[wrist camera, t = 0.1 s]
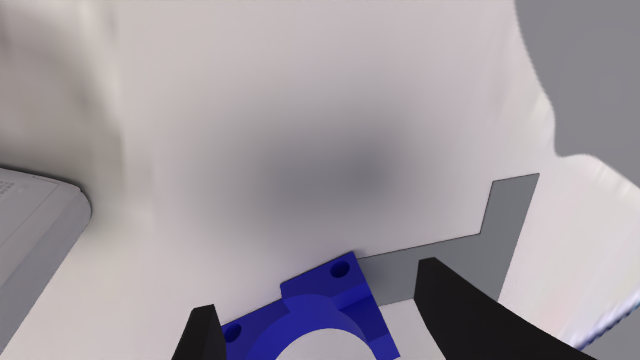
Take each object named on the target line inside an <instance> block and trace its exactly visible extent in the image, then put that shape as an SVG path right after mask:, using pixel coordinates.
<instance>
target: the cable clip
mask: <svg viewBox="0 0 640 360" xmlns="http://www.w3.org/2000/svg"><path fill="white" fill-rule="evenodd" d="M280 288H281V295H282V299H281V300H279V301H276V302H274V303H272V304H270V305H268V306H265V307H263V308H261V309H259V310H257V311H254V312H252V313H250V314H248V315H246V316H243V317H241V318H239V319H237V320H235V321H232V322H230V323H228V324H226V325H224V326H221V328H222V332H223V335H224V338H225V341H226V354H227V360H275V359H276V358H277V357H278V356H279V354H280V353H281V352H282V351H283V350H284V349H285V348H286V347H287V346H288V345H289V344H290V343H292V342H293V341H294V340H296V339H297V338H299V337H301V336H302V335H304V334H307V333H309V332H312V331H315V330H319V329H326V328H334V329H340V330H344V331H347V332H350V333H352V334H354V335H356V336H357V337H359V338H360V339H361V340H362V341H364V342H365V343H366V344H367V345H368V346H369V348H370V349H371V350H372V352H373V354H374V356H375V358H376V359H377V360H394V359H396V358H398V357H400V354H399V352H398V350H397V348H396V345H395V343H394V341H393V339H392V336H391V334H390V332H389V330H388V328H387V325H386V323H385V321H384V319H383V316H382V314H381V312H380V310H379V308H378V305H377V303H376V301H375V299H374V297H373V294H372V292H371V290H370V288H369V286H368V283H367V281H366V279H365V277H364V275H363V272H362V270H361V268H360V266H359V264H358V261H357V259H356V257H355V255H354V253H353V252H351V253H348V254H346V255H344V256H342V257H340V258H337V259H335V260H333V261H331V262H329V263H326V264H324V265H322V266H320V267H318V268H315V269H313V270H311V271H309V272H307V273H304V274H302V275H300V276H298V277H296V278H293V279H291V280H289V281H287V282H285V283H282V284H280Z"/></svg>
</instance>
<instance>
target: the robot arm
mask: <svg viewBox="0 0 640 360" xmlns="http://www.w3.org/2000/svg"><path fill="white" fill-rule="evenodd" d="M413 299H414V301H415V303H416V306H417V308H418V310H419V312H420V314H421V317H422V319H423V321H424V323H425V325H426V327H427V329H428V330H429V332H430V334H431V335H432V337H433V339H434V340H435V342H436V344H437V345H438V347H439V349H440V350H441V352H442V354H443V355H444V357H445V358H446V360H597V359H595V358H593V357H591V356H589V355H587V354H585V353H583V352H581V351H579V350H577V349H575V348H573V347H571V346H569V345H568V344H566V343H564V342H562V341H560V340H558V339H557V338H555V337H553V336H551V335H550V334H548V333H546V332H544V331H542V330H541V329H539V328H537V327H536V326H534V325H532V324H531V323H529V322H527V321H526V320H524V319H523V318H521V317H519V316H518V315H516V314H515V313H513V312H512V311H510V310H508V309H507V308H505V307H504V306H502V305H501V304H499V303H498V302H496V301H495V300H493V299H492V298H491V297H489V296H488V295H486V294H485V293H483V292H482V291H481V290H479V289H478V288H476V287H475V286H474V285H472V284H471V283H470V282H468V281H467V280H465V279H464V278H463V277H461V276H460V275H459V274H457V273H456V272H455V271H453V270H452V269H451V268H449V267H448V266H447V265H445V264H444V263H443V262H441V261H440V260H438V259H437V258H436V257H430V258H425V259H421V260H419V263H418V270H417V277H416V284H415V291H414V298H413ZM171 360H227V354H226V341H225V338H224V335H223V332H222V328H221V325H220V322H219V319H218V316H217V313H216V310H215V306H214V304H211V305H206V306H202V307H197V308H194V309H193V310H192V311H191V314H190V316H189V319H188V322H187V324H186V327H185V329H184V332H183V334H182V336H181V339H180V341H179V343H178V346H177V348H176V350H175V353H174V355H173V357H172V359H171Z"/></svg>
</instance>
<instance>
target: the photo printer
mask: <svg viewBox="0 0 640 360" xmlns="http://www.w3.org/2000/svg"><path fill="white" fill-rule="evenodd" d="M90 216H91V209H90V204H89V202H88V200H87V198H86V197H85V195H84V194H83V193H82V192H80V188H78V187H77V186H74V185H72V184H68V183H65V182H62V181H58V180H55V179H51V178H46V177H42V176H36V175H32V174H26V173H22V172H17V171H12V170H7V169H2V168H0V355H1V353H2V352H3V350H4V349H5V347H6V346H7V344H8V343H9V341H10V340H11V338H12V337H13V335H14V334H15V332H16V331H17V329H18V328H19V326H20V325H21V323H22V322H23V320H24V319H25V317H26V316H27V314H28V313H29V312H30V310H31V308H32V307H33V305H34V304H35V302H36V301H37V299H38V298H39V296H40V295H41V293H42V292H43V290H44V289H45V287H46V286H47V284H48V283H49V281H50V280H51V278H52V277H53V275H54V274H55V272H56V271H57V269H58V268H59V266H60V265H61V263H62V262H63V260H64V259H65V257H66V256H67V254H68V253H69V251H70V250H71V248H72V247H73V245H74V244H75V242H76V241H77V239H78V238H79V236H80V235H81V233H82V232H83V230H84V229H85V227H86V226H87V224H88V222H89V220H90Z"/></svg>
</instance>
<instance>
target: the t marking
mask: <svg viewBox="0 0 640 360" xmlns="http://www.w3.org/2000/svg"><path fill="white" fill-rule="evenodd" d="M539 175H540V174H539V173H538V174H532V175H526V176H521V177H515V178H510V179H504V180H499V181H493V184H492V188H491V192H490V196H489V199H488V203H487V207H486V211H485V215H484V219H483V223H482V227H481V231H480V234H476V235H471V236H466V237H461V238H457V239H452V240H447V241H442V242H437V243H433V244H428V245H423V246H418V247H414V248H409V249H404V250H399V251H394V252H390V253H385V254H380V255H375V256H371V257H366V258H361V259H357V261H358V264H359V266H360V268H361V270H362V272H363V275H364V277H365V279H366V281H367V283H368V286H369V288H370V290H371V292H372V294H373V297H374V299H375V301H376V303H377V305H378V307H379V306H383V305H387V304H392V303H396V302H400V301H404V300H408V299H412V298H414V291H415V284H416V277H417V270H418V263H419V260H421V259H425V258H430V257H436V258H437V259H438V260H440V261H441V262H443V263H444V264H445V265H447V266H448V267H449V268H451V269H452V270H453V271H455V272H456V273H457V274H459V275H460V276H461V277H463V278H464V279H465V280H467V281H468V282H470V283H471V284H472V285H474V286H475V287H476V288H478V289H479V290H481V291H482V292H483V293H485V294H486V295H488V296H489V297H491V298H492V299H493V300H495V301H496V302H497V301H498V298H499V295H500V292H501V289H502V286H503V283H504V280H505V277H506V274H507V271H508V268H509V265H510V262H511V259H512V256H513V253H514V250H515V247H516V244H517V241H518V238H519V235H520V232H521V229H522V226H523V223H524V220H525V217H526V214H527V211H528V208H529V205H530V202H531V199H532V196H533V193H534V190H535V187H536V184H537V181H538V178H539Z"/></svg>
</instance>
